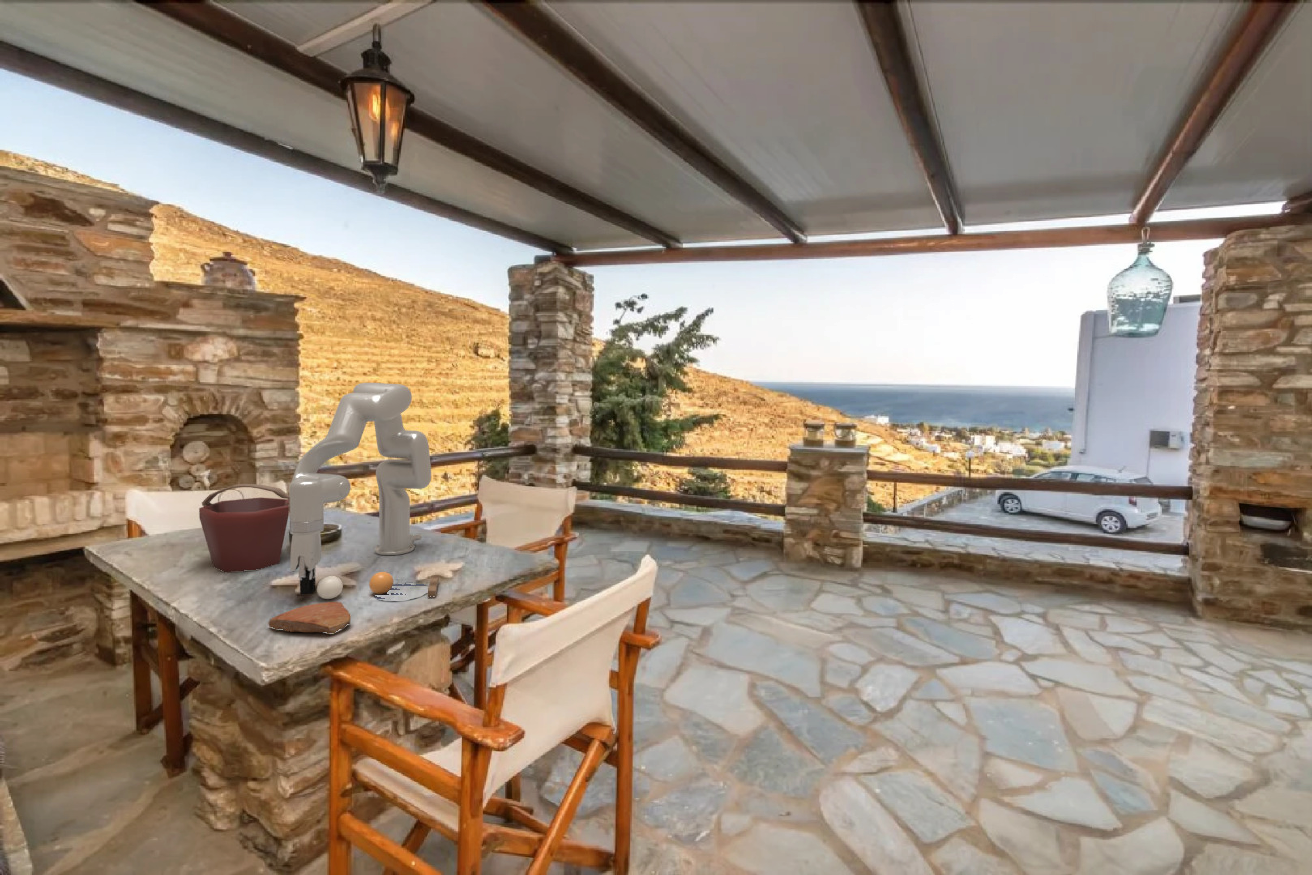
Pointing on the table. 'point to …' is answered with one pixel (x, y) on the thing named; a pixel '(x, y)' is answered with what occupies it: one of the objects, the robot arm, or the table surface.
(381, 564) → the table surface
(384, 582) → the object ball
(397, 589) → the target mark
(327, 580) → the cue ball
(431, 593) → the stopper rail
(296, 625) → the ceramic shard
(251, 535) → the bucket
